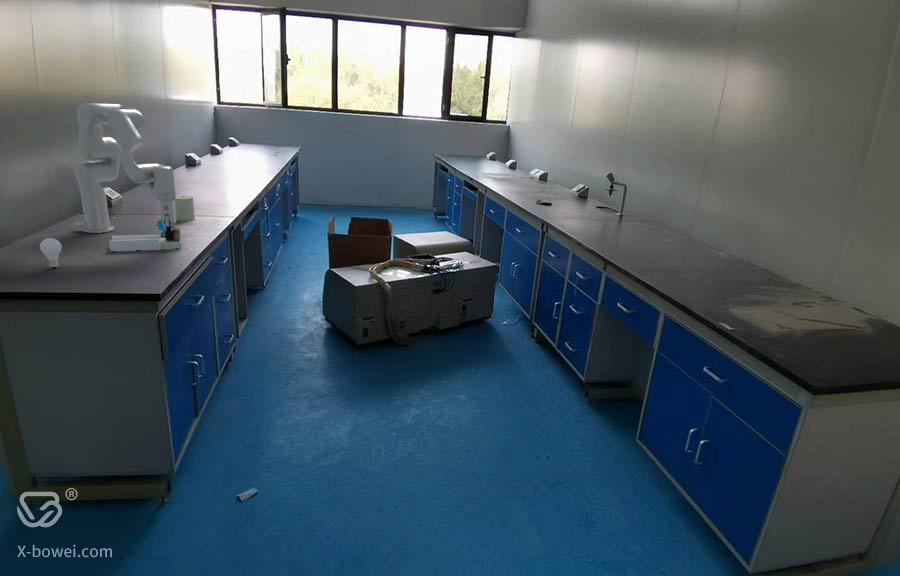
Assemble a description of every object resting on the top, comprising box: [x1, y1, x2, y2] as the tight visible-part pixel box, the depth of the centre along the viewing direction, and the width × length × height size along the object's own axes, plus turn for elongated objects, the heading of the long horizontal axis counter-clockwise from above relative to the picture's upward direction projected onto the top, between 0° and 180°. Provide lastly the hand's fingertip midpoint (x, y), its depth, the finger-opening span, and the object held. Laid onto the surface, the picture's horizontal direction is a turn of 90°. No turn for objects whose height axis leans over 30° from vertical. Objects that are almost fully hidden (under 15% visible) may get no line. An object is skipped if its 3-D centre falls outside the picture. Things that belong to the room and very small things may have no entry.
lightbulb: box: [39, 237, 63, 268], centre depth 195 cm, size 6×6×11 cm
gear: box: [156, 218, 179, 236], centre depth 249 cm, size 11×6×10 cm
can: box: [174, 195, 196, 222], centre depth 281 cm, size 9×9×12 cm
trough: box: [108, 234, 183, 252], centre depth 228 cm, size 26×9×4 cm, turn 113°
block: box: [167, 226, 182, 241], centre depth 231 cm, size 5×5×5 cm
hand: (170, 238), depth 231 cm, fingers closed on block, 4 cm apart
